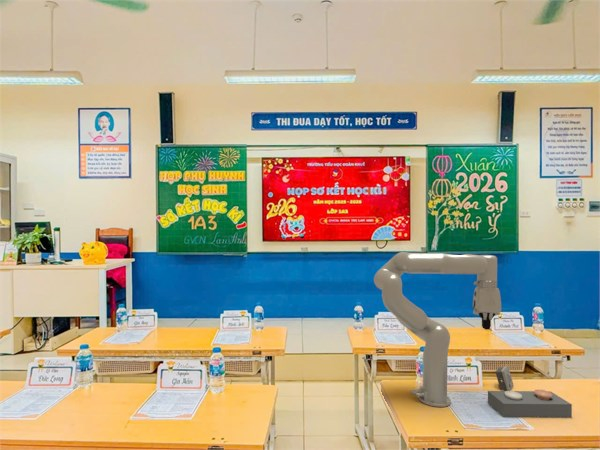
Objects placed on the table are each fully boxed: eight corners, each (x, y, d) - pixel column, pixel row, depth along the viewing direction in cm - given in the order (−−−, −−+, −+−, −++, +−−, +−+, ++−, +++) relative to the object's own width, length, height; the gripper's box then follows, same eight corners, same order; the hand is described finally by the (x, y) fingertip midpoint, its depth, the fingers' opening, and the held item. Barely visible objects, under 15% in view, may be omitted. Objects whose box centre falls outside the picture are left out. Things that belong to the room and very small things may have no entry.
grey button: (509, 410, 152) (509, 397, 152) (501, 403, 158) (501, 390, 158) (525, 410, 152) (525, 397, 152) (516, 403, 158) (516, 390, 158)
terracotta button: (540, 408, 152) (540, 395, 152) (530, 402, 158) (531, 389, 158) (555, 409, 152) (556, 395, 152) (545, 402, 158) (545, 389, 158)
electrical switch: (509, 392, 172) (507, 370, 173) (496, 390, 175) (494, 369, 176) (513, 386, 179) (512, 365, 180) (501, 384, 182) (499, 364, 183)
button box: (503, 417, 149) (503, 403, 149) (487, 403, 161) (487, 390, 161) (571, 417, 149) (571, 404, 149) (550, 403, 161) (550, 391, 161)
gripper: (473, 285, 161) (472, 330, 161) (509, 286, 162) (508, 331, 161) (465, 283, 169) (464, 326, 169) (499, 283, 169) (499, 326, 169)
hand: (486, 328), depth 165 cm, fingers closed
